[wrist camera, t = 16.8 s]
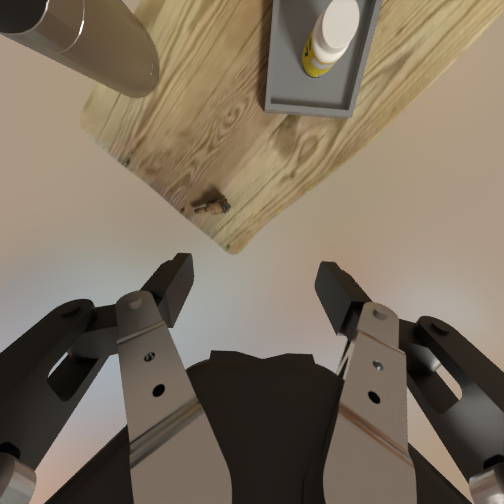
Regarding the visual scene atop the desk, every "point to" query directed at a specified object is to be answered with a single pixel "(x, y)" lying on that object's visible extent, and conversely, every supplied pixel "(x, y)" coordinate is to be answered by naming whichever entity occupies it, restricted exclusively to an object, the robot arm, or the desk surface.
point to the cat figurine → (215, 207)
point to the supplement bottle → (329, 37)
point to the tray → (290, 70)
